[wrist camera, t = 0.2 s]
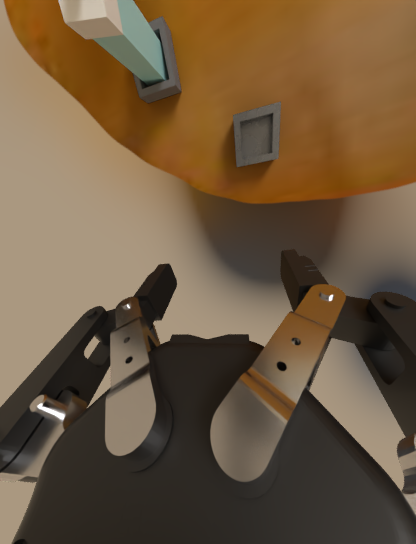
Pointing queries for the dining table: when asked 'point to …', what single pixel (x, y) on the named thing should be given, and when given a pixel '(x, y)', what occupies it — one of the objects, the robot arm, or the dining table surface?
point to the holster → (173, 83)
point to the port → (257, 134)
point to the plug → (119, 34)
